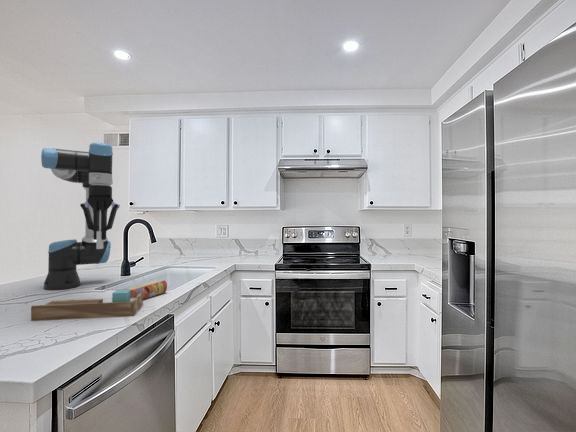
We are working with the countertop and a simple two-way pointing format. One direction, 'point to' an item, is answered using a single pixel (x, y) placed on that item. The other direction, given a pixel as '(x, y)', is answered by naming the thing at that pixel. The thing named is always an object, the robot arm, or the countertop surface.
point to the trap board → (85, 309)
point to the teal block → (121, 296)
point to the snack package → (148, 289)
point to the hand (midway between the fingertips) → (99, 248)
